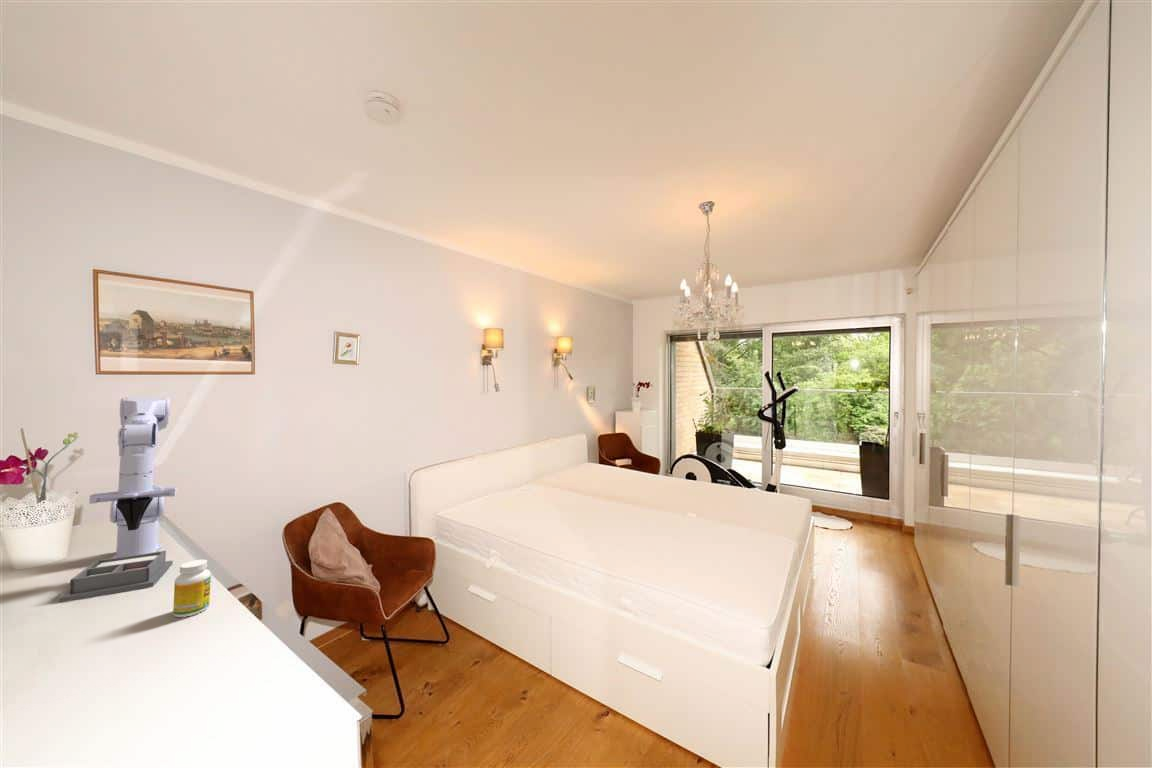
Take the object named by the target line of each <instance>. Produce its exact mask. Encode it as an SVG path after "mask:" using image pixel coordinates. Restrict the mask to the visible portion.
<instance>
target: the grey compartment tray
mask: <svg viewBox="0 0 1152 768" xmlns="http://www.w3.org/2000/svg"><path fill="white" fill-rule="evenodd" d="M166 551H167V550H162V551H156V552H153V553H146V554H138V555H131V556H124V557H116V558H112V557H110V558H103V559H96V560H95V561H93V562H92V563H91V564H90V565H88V566H87V567H86V568H84V569H83V570H82V571H80V572H78V574H76V575H75V576H73V577H72V578H71V579H70V583H69V585H70V586H69V589H68V590H67V591H65V592H64V593H63V594H62V595H61V596H59V597H58V603H65V602H71V601H76V600H82V599H88V598H93V597H99V596H100V597H101V596H105V595H111V594H118V593H125V592H129V591H135V590H142V589H147V588H153V587H154V586H156V584H157V583H158V582H159V580H160V579H162V577H163V576H164V575H165V573H167V571H168V570H169V569H170V568H171V567H172V565H173V560H166V555H167V553H166ZM155 555H158V556H157V557H156V558H155V559H151V560H144V561H137V562H130V563H123V564H116V565H109V566H102V567H97V566H98V565H99V564H101V563H105V562H112V561H120V560H127V559H134V558H141V557H148V556H155ZM170 566H171V567H170ZM144 567H146V568H144ZM169 567H170V568H169ZM137 568H140V569H137ZM130 569H133V570H130ZM125 570H127V571H125ZM110 572H111V573H110ZM104 573H107V574H104ZM97 574H100V575H97ZM90 575H93V576H90Z"/></svg>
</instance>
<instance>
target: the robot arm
mask: <svg viewBox="0 0 1152 768" xmlns="http://www.w3.org/2000/svg"><path fill="white" fill-rule="evenodd" d="M170 406H171V399H170V398H169V397H126V396H124V397H123V398H120V402H119V418H120V425H121V426H119V429H118V433H117V445H118V457H119V456H120V457H119V472H118V474H119V475H118V490H117V491H110V492H101V493H93V494H91V495H89V502H88V503H89V505H90V504H92V505H93V504H97V503H108V502H111V503H110V511H109V521H110V522H111V523H112V524H116V527H117V533H116V551H115V555H114V556H112V557H111V558H116V557H124V556H131V555H138V554H146V553H153V552H158V551H159V549H161V548H162V547H163V545H164V543H159V537H160V535H159V534H160V522H159V521H158V518H161V517H162V516H163V515H164V514H165V513H164V512H165V498H166V497H170V498H171V497H176V496H177V495H178V487H176V486H175V487H162V486H160V485H158V484H156V483H154V470H155V469H154V467H155V449H156V446H157V444H158V438H159V432H160V431H163V430H164V429H166V428H168V424H169V417H170V413H171V412H170V410H171V409H170V408H171V407H170Z"/></svg>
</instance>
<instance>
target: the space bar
mask: <svg viewBox="0 0 1152 768" xmlns="http://www.w3.org/2000/svg"><path fill="white" fill-rule="evenodd" d="M157 556H158V555H155V556H148V557H141V558H134V559H127V560H120V561H112V562H105V563H101V564H99V565H98V566H97V567H102V566H109V565H116V564H123V563H130V562H137V561H144V560H151V559H155V558H156V557H157Z"/></svg>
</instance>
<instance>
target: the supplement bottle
mask: <svg viewBox="0 0 1152 768" xmlns="http://www.w3.org/2000/svg"><path fill="white" fill-rule="evenodd" d="M207 568H208V560H207V559H194V560H190V561H186V562H184V563H182V564H181V565H180V566H179V575H178V576H176V578H175V580H174V586H173V587H174V588H173V589H174V590H173V593H174V594H173V608H172V610H173V612H172V614H173V616H174V617H175V618H180V617H182V618H188V617H187V616H189V617H192V615H193V616H196V615H198V613H199V614H201V613H203V612H205V611H206V610H207V609H209V607H210V601H211V600H210V599H211V583H212V582H211V579H212V573H211V571H210V569H209V570H208V569H207ZM204 610H205V611H204ZM200 612H201V613H200ZM195 614H196V615H195Z"/></svg>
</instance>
